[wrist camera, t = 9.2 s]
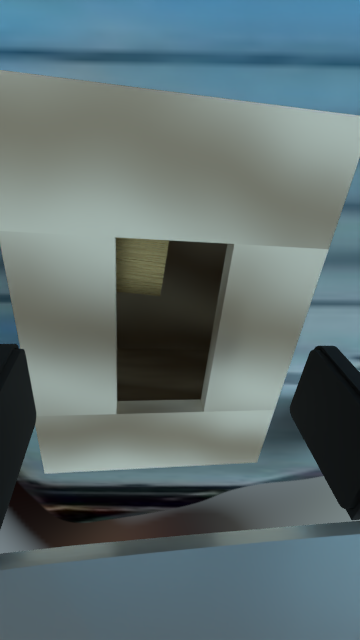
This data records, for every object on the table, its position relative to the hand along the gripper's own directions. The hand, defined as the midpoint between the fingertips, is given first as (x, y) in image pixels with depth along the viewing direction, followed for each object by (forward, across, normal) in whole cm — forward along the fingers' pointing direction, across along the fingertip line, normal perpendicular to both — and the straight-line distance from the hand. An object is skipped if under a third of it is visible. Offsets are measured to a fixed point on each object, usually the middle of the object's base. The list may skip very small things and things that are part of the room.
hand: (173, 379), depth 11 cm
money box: (+12, 0, 0) cm, 12 cm away
